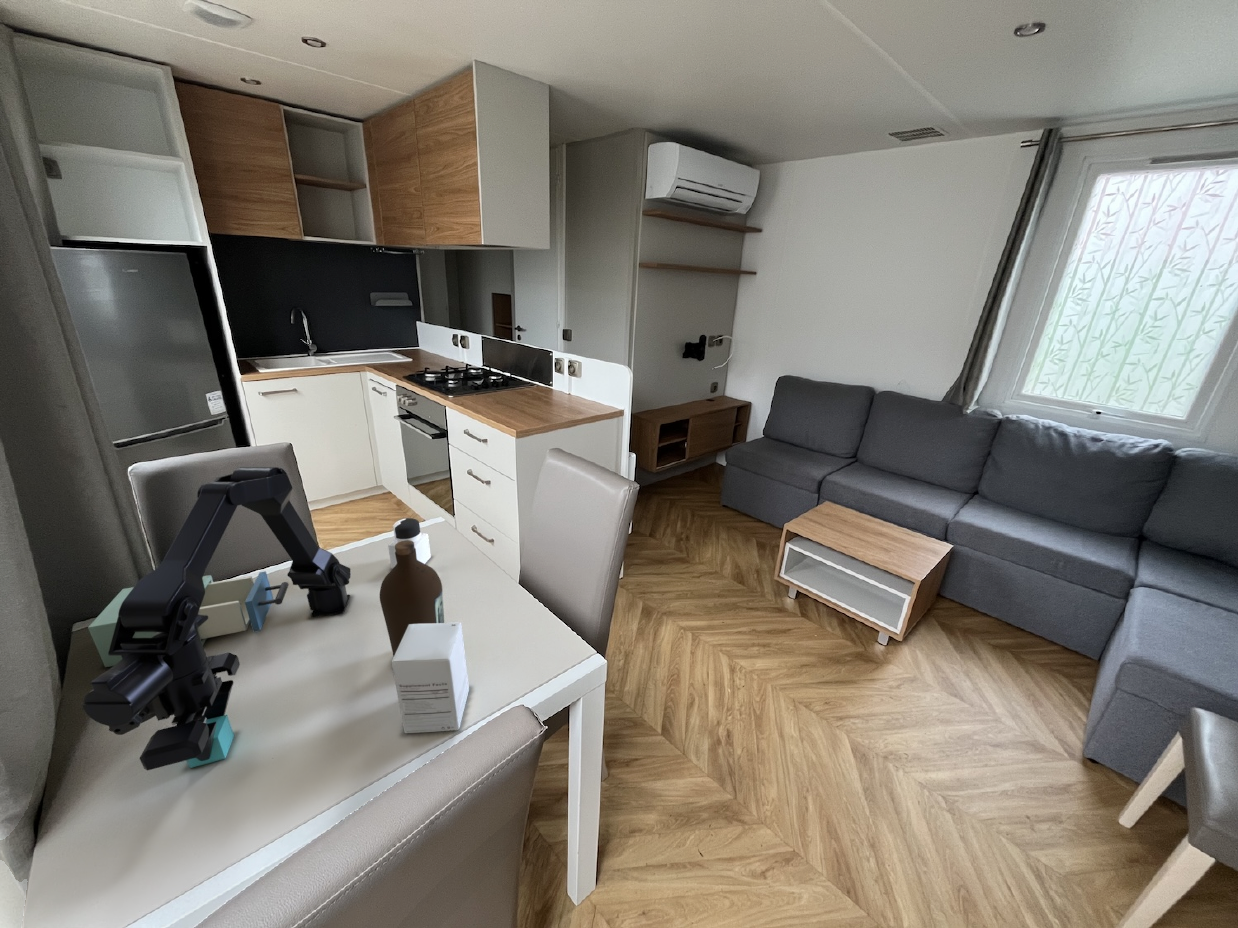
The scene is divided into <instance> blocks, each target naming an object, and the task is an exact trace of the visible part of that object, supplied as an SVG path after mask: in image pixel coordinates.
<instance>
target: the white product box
mask: <svg viewBox="0 0 1238 928" xmlns="http://www.w3.org/2000/svg"><path fill="white" fill-rule="evenodd" d="M466 659H467V658H466V652H465V643H464V636H463V627H462V622H460V621H456V622H455V621H453V622H444V623H429V624H409V625H408V627H407V630H406V632H405V634H404V636H403V638H402V640H401V642H400V645H399V647H398V649H397V651H396V653H395V655H394V657H393V658H392V660H391V668H392V673H393V679H394V683H395V688H396V694H397V700H398V704H399V705H398V706H399V711H400V716H401V721H402V727H403V732H404V734H416V733H419V734H420V733H435V732H436V733H437V732H449V731H450V732H451V731H459V730H460V727H461V724H462V719H463V715H464V711H465V708H466V703H467V700H468V695H469V691H470V684H469V676H468V668H467V660H466Z"/></svg>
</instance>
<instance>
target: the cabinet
mask: <svg viewBox="0 0 1238 928" xmlns="http://www.w3.org/2000/svg"><path fill="white" fill-rule="evenodd" d="M202 579H203V583H204V588H206V586H207V585H208V583H212V582H214V580H213V577H212V575H211V574H209V575H203V578H202ZM134 587H135V586H132V587H126V588H122V589H121V591H119V593H118V594H117V595H116V596H115V597H114V598H113V599H112V600H111V602H110V603H109V604H107V606H106V607H105V608H104V609H103V610H102V611H101V612H100V614H98V616H97V617H96V618H95V619H94V620H93V621H92V622H91V623H90V624H89V626H88V627H87V629H88V631H89V633H90V636H91V638H92V641H93V643H94V645H95V647H96V651H97V652H98V654H99V656H100V659H101V661H102V663H103V665H104V668H109V667H110V668H111V667H113V666H114V665H115V664H117V663H118V662H119V661H121V660H122V657H121V656H109V655H108V652H109V649H110V645H111V641H112V637H113V634H114V630H115V626H116V623H117V619H118V613H119V609H120V607H121V604H122V602H123V601H124V599H125V598H126V597H127V596H128V594H129V593H130V592H131V590H132V589H133V588H134ZM157 633H158V632H135V634H134V636H133V638H152V637H153V636H154V635H155V634H157ZM207 639H208V638H204V639H201V641H202V644H203V645H204V644H205V642H207Z"/></svg>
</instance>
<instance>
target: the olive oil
mask: <svg viewBox="0 0 1238 928" xmlns="http://www.w3.org/2000/svg"><path fill="white" fill-rule="evenodd" d="M395 550H396V552H395V555H396V561H397V564H396V566H395V567H394V568H393V569H392V568H391V569H390V571H389V572H388V573H387V574H386V575H385V577H384V578H383V580H382V582H381V584H380V589H379V603H380V606H381V610H382V614H383V618H384V622H385V627H386V629H387V635H388V638H389V642H390V647H391V651H392V656H393V658H394V655H395V653H396V651H397V649H398V647H399V645H400V642H401V640H402V638H403V636H404V634H405V632H406V630H407V627H408V625H409V624H429V623H445V612H444V609H445V608H444V593H443V591H444V590H443V583H442V580H441V578H440V576H439V574H438V573H437V571H436V570H435V569H434V568H433V567H431V566H429V565H428V564H427V563H425V564H424V563H422V562H420V561H418V560H417V557H416V549H415V548H414V542H413V541H410V540H405V541H401V542H398V543H397V544H396V545H395Z"/></svg>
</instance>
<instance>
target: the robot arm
mask: <svg viewBox="0 0 1238 928" xmlns="http://www.w3.org/2000/svg"><path fill="white" fill-rule="evenodd" d="M293 489H294V488H293V486H292V483H291V481H290V478H289V476H288V474H287V472H286V470H285V469H284V468H282V467H276V466H275V467H274V466H273V467H272V466H252V467H251V466H240V467H237V468H235V469H234V470H233V472H232V473H230V474H226V475H222V476H218V477H215V479H214V480H212V481H208V482H205V483H203V484H201V485H200V487H198V490H197V493H196V495H197V497H196V498H197V500H196V501H195V502H194V504H193V506H192V507H191V510H190V511H189V513H188V515H187V517H186V519H185V520H184V522H183V524H182V526H181V528H180V529H179V531H178V533H177V535H176V536H175V538H174V540H173V542H172V544H171V545H170V547H169V548H168V551H167V552H166V554H165V556H164V557H163V559H162V560H161V562H160V564H159V565H158V566H157V567H156V568H154V570H152V571H151V572H149V573H147V574H146V575H145V576H143V577H142V578H140V579H139V580H138V581H137V583H136V584H135V586H133V587H134V588H133V589H132V590H131V592H130V593H129V594H128V596H127V597H126V598H125V599H124V601H123V602H122V604H121V607H120V609H119V613H118V619H117V623H116V626H115V630H114V634H113V637H112V641H111V645H110V649H109V652H108V655H109V656H121V657H122V660H121V661H119V662H118V663H117V664H115V665H114V666H111V667H110V668H109V669H108V670H107V671H104V672H102V673H100V675H98V676H97V677H96V678H94V679H93V680H92V681H91V682H90V686H91V688H92V689H91V690H90V691H89V692H88V693H87V694H86V695H85V696H84V698H83V704H82V705H81V707H82V710H83V712H84V713H85V714H86V715H87V716H88V717H89V718H90V719H92V720H93V721H94V722H96V723H97V724H98V723H99V724H100V725H104V726H108V731H109V732H111V733H114V734H115V735H117V736H122V735H125V734H127V733H130V732H131V731H133V730H135V729H137V728H139V727H140V725H141V724H143V723H145V722H147V721H149V720H151V719H153V718H155V717H156V719H157V721H158V722H159V721H162V720H163V721H164V720H166V719H169V718H170V717H171V716H174V717H173V719H172V720H171V725H172V726H169V727H166V728H165V727H164V728H161V729H157V730H156V731H155V732H154V733H153V734H152V736H151V737H150V738H149V740H148V742H147V744H146V745H145V748H144V749H143V750H142V752H141V754H140V756H139V760H140V762H141V765H142V767H143V769H144V770H146V771H151V770H154V769H158V768H162V767H166V766H171V765H173V764H177V763H181V762H185V761H187V760H189V759H193V758H197V759H198V760H200V761H205V760H208V759H210V756H211V751H212V745H213V740H214V734H215V728H216V722H212V723H208V724H207V723H206V720H207V719H211V718H216V717H220V716H224V715H226V712H227V707H228V704H229V701H230V696H231V694H232V689H233V686H234V683H235V681H234V680H232V679H229V680H225V681H223V679H222V677H221V676H219V677H218V675H217V674H220V673H224V672H226V673H227V676H229V677H232V676H236V675H237V672H238V671H239V668H240V665H241V664H240V663H241V662H240V661H239V657H238V655H237V654H235V653H231V652H225V653H220V654H214V655H209V656H207V653H206V649H205V647H204V644H202V641H201V638H200V635H199V632H198V630H197V629H198V628H199V627H200V626H201V625H202V624H203V623H204V622H205V621H207V620H208V616H207V615H198V612H199V609H200V607H201V604H202V601H203V598H204V595H205V588H204V583H203V579H202V578H203V576H205V575H204V574H205V572H206V569H207V567H208V566H209V563H210V562H211V560H212V557H213V556H214V553H215V552H216V550H217V548H218V546H219V544H220V541H221V540H222V537H223V536H224V534H225V532H226V530H227V528H228V526H229V523H230V522H231V519H232V518H233V516H234V514H235V512H236V510H237V508H238V506H242V507H244V508H246V509H247V510H250V511H252V512H255V513H256V514H259V515H260V516H261V517H262V519H263V520H264V522H265V523H266V525H267V526H268V528H269V529H270V530H271V532H272V533H273V535H274V536H275V537H276V539H277V540H278V542H279V543H280V545H281V546H282V548H283V549H284V550H285V552H286V554H287V555H288V556H289V557H290V559H291V561H292V562H291V564H290V568H289V571H288V572H287V577H288V578H289V579H290V580H291V582H292V585H293V586H298V588H299V590H307V591H308V592H307V594H306V598H307V601H308V606H309V610H310V611H311V613H310V617H311V618H319V617H320V618H321V617H328V616H333V615H334V616H335V615H342V614H344V613H345V612H346V609H347V606H348V604H349V602H350V600H351V595H350V594H348V593H347V592H348V591H347V587H346V586H347V585H349V584H350V579H351V575H352V574H351V573H352V572H351V568H350V567H349V566H347V565H345V564H342V563H340V561H339V559H338V558H337V556H336V555H334V553H332V552H330V551H328V550H326V549H323V548H321V547H319V546H318V544H317V542H316V541H315V539H314V538H313V536H312V535H311V533H310V532H309V530H308V528H307V527H306V525H305V523H304V522H303V519H301V517H300V515H299V514H298V512H297V511H296V509H295V507H294V506H293V504H292V502H291V501H290V499H291V495H292V492H293ZM135 632H158V633H157V634H155V635H154V636H153V637H152V638H133V636H134V634H135Z"/></svg>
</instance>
